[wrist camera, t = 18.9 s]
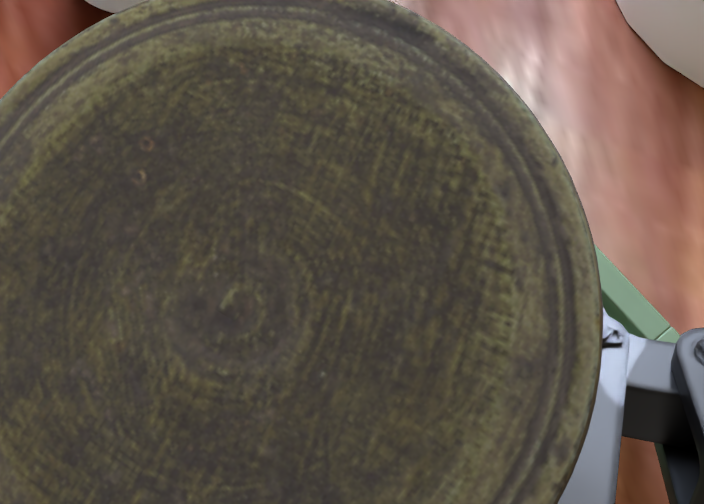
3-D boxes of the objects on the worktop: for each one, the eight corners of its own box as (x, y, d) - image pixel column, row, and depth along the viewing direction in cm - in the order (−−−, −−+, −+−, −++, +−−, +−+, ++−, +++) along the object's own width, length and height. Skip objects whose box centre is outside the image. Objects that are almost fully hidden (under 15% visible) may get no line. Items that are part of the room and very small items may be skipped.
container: (245, 218, 26) (-119, -30, 8) (462, 207, 25) (606, -94, 7) (247, 439, 25) (-170, 738, 7) (475, 435, 24) (684, 757, 6)
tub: (118, 301, 26) (21, 293, 20) (375, 81, 27) (365, 0, 20) (336, 581, 24) (310, 679, 18) (613, 340, 25) (691, 347, 18)
